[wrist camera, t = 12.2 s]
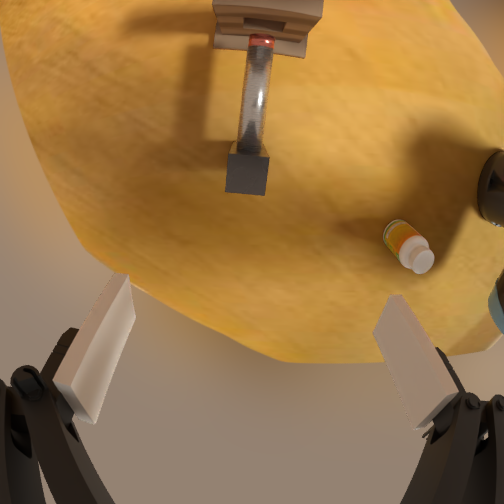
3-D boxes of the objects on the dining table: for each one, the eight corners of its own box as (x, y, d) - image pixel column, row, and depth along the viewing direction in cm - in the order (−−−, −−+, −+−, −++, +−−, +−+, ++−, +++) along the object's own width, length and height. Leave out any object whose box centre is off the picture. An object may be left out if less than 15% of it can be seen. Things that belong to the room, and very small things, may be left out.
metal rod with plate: (259, 172, 38) (264, 195, 29) (230, 169, 38) (225, 192, 28) (274, 50, 30) (285, 29, 20) (244, 47, 30) (243, 24, 20)
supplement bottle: (376, 238, 44) (401, 269, 35) (395, 212, 42) (425, 239, 33) (396, 252, 45) (421, 283, 37) (414, 228, 43) (443, 256, 35)
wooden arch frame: (304, 58, 31) (330, 37, 19) (213, 48, 30) (198, 21, 19) (309, 10, 27) (335, -26, 16) (221, 0, 26) (210, -41, 15)
